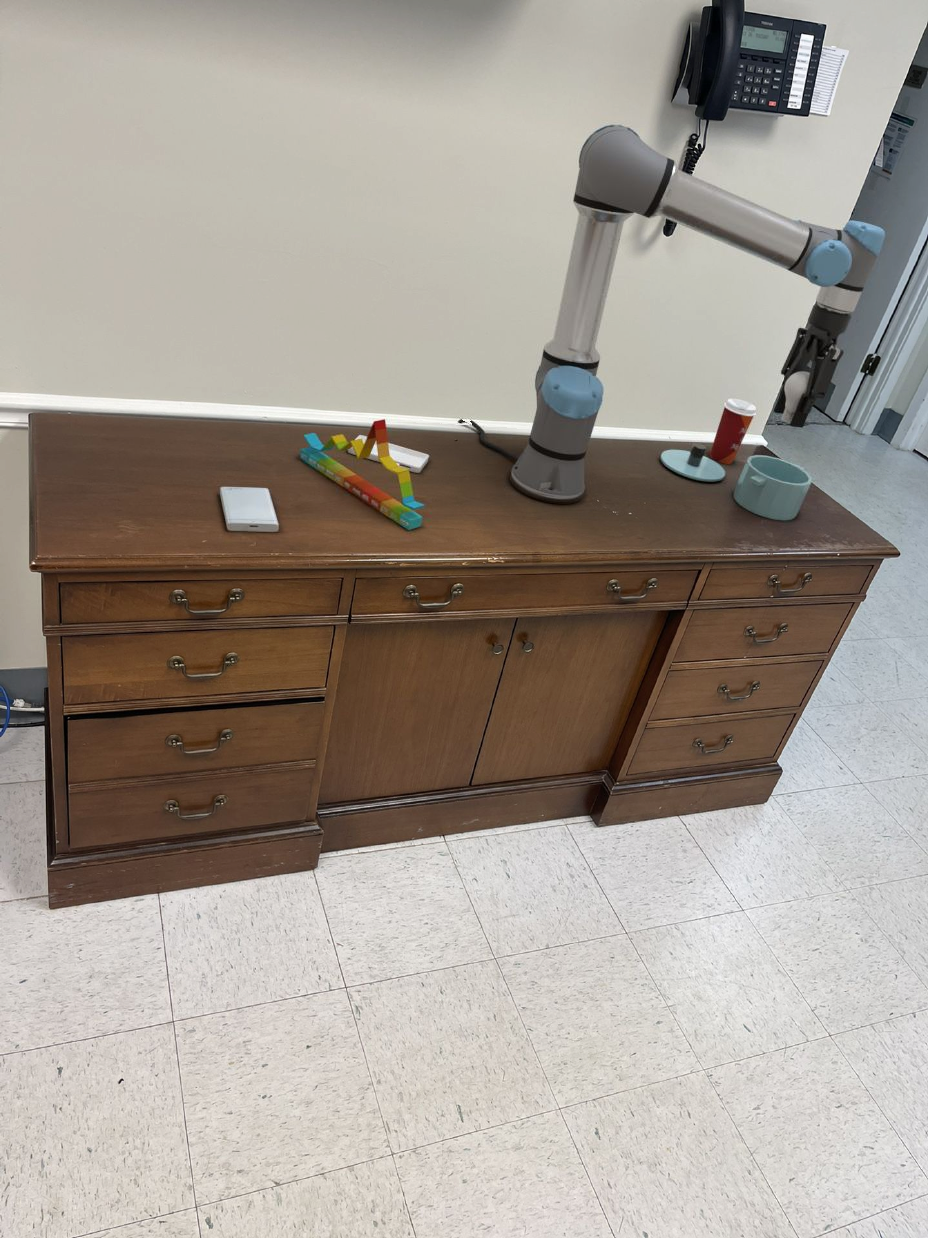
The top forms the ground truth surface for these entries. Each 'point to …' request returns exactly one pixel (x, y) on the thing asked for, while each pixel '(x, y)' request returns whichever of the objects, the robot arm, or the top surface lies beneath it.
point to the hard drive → (248, 509)
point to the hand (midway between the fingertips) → (787, 419)
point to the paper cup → (732, 429)
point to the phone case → (399, 456)
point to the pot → (772, 487)
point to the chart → (358, 484)
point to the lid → (693, 464)
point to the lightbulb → (794, 393)
